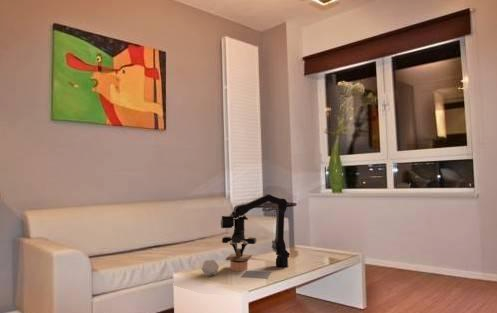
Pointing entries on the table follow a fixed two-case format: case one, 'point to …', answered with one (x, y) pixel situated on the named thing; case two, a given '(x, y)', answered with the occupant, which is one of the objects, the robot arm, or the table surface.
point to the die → (210, 267)
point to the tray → (256, 274)
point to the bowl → (238, 265)
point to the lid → (238, 256)
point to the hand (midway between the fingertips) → (239, 255)
